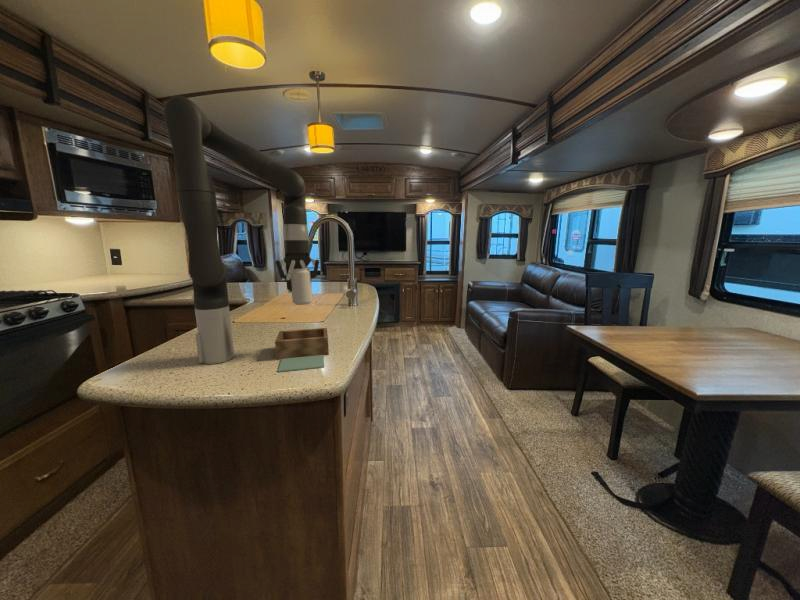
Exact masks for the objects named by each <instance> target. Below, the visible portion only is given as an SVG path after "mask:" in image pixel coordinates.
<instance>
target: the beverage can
mask: <svg viewBox="0 0 800 600" xmlns="http://www.w3.org/2000/svg"><path fill="white" fill-rule="evenodd" d="M307 270H308V271H307ZM310 275H312V274H311V271H310V268H309V267H307V268H306V269H293V271H292V273H291V288H292V291H291V298H292V304H294V305H296V306H304V305H305V306H306V305H309V304H311V303H312V302H313V290H312V279H310Z"/></svg>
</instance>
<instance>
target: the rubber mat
mask: <svg viewBox="0 0 800 600" xmlns="http://www.w3.org/2000/svg"><path fill="white" fill-rule="evenodd" d="M322 368H323V369H324V368H325V355H317V356H306V357H296V358H285V359H280V363H279V367H278V369H277V373H285V372H294V371H305V370H314V369H322Z"/></svg>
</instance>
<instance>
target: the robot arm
mask: <svg viewBox="0 0 800 600" xmlns="http://www.w3.org/2000/svg"><path fill="white" fill-rule="evenodd" d="M163 117H164V120H165V124H166V128H167V133H168V135H169V139H170V143H171V147H172V153H173V165H174V171H175V172H174V173H175V178H176V179H175V180H176V188H177V195H178V203H179V204H178V205H179V207H180V212H181V214H180V215H181V218H182V222H183V226H184V230H185V233H186V236H187V238H186V239H187V243H188V244H187V245H188V274H189V277H190V278H191V281H192V289H193V306H194V307H193V308H194V312H195V313H194V314H195V320H196V321H195V322H196V328H197V329H196V330H197V332H196V333H195V342H196V350H197V357H198V364H206V365H215V364H221V363H225V362H229V361H230V360H232V359H234V358H235V349H234V339H233V330H232V320H231V314H230V313H231V312H230V303H229V302H230V301H229V292H228V283H227V273H226V271H227V270H226V268H225V267H226V266H225V264H224V263H223V260H222V256H221V252H220V248H219V242H218V221H219V220H218V203H217V195H216V194H217V193H216V189H215V184H214V181H213V178H212V175H211V173H210V172H211V171H210V169H209V166H208V163H207V161H206V158H205V154H204V147H205V148H207V149H209V150H211V151H213V152H215V153H218V154H220V156H223V157H225V158H226V159H227V160H229V161H231V162H233V163H234V164H236V165H237V166H239V167H241V168H242V169H243V170H244V171H246V172H248V173H250V174H251V175H253V176H255V177H256V178H258V179H260V180H261V181H263V182H266V183H269V184H271V185H272V186H274V187H276V188H277V189H279V191H282V193H283V204H284V208H283V224H284V227H283V239H284V252H285V253H284V257H283V259H277V260H275V265H276V269H277V271H278V274H279V277H280V279H283V280H285V281H286V289H287V290H288V291H289V293H290V292H291V293H292V288H291V273H292V271H293V269H306V268H308V266H309V265H310V263H312V266H314V267H313V273H312V274H311V275H310V279H311V280H312V279H315V278H317V276H318V271H319V270H318V269H319V265H320V261H319V259H314V258H311V256H310V239H309V238H310V236H309V228H308V218H307V216H308V214H307V209H306V184H305V180H304V178H303V177H302V176H301V175H300V174H299V173H298V172H296V171H295V170H292V169H291V168H289V167H287V166H285V165H283V164H280V163H278V162H276V161H275V160H274V159H272V158H271V157H269V156H267V155H266V154H265V153H263V152H261V151H260V150H258V149H257V148H255V147H253V146H251V145H249V144H247V143H244V142H243V141H241V140H239V139H237V138H235V137H233V136H231V135H230V134H229V133H227V132H225V131H224V130H222V129H221V128H219V127H218V126H217V125H216V124H214V123H213V122H212V121H211V120H210V119H209V118H208V117H207V116H206V114H205V113H204V112H203V111H202V110H201V109H200V107H199V106H198V104H196V103H195V102H193V101H192V100H191V99H189V98H188V97H185V96H181V95H173V96H171V97H170V98H168V100H167V101H166V102H165V105H164V108H163ZM284 264H285V265H286V266H288V268H289V269H288V272H287V274H285V271H284V269H283V266H284ZM307 271H308V270H307Z"/></svg>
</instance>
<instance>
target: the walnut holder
mask: <svg viewBox="0 0 800 600" xmlns="http://www.w3.org/2000/svg"><path fill="white" fill-rule="evenodd" d="M328 335H329V334H328V328H327V327H320V328H319V327H318V328H307V329H306V328H305V329H293V330H292V329H291V330H280V331H279V332H278V334H277V336H276V339H275V341H274V344H275V345H274V346H275V355H276V356H275V358H276V360H282V359H285V358H296V357H306V356H317V355H324V356H328V355H330V354H329V353H330V350H329V336H328Z"/></svg>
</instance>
